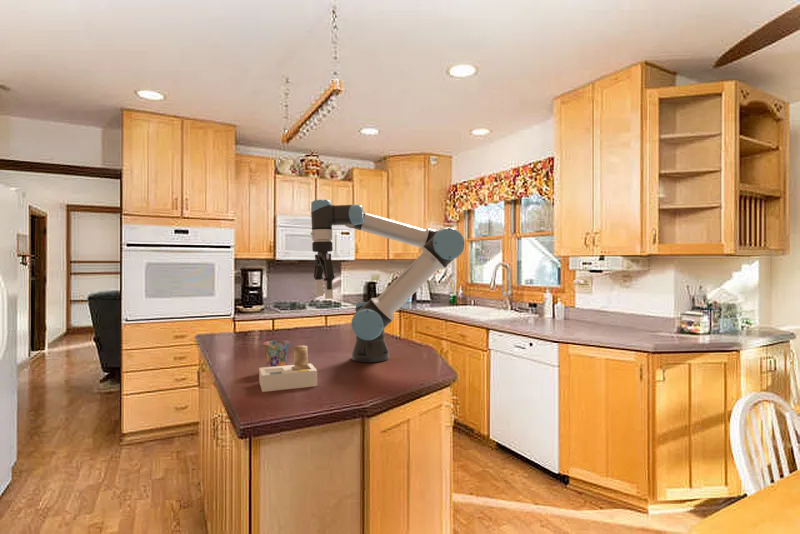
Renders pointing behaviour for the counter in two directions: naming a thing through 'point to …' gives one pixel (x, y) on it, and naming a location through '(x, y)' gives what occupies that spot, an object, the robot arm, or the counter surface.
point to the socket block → (286, 377)
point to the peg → (300, 357)
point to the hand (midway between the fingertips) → (324, 297)
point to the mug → (276, 353)
